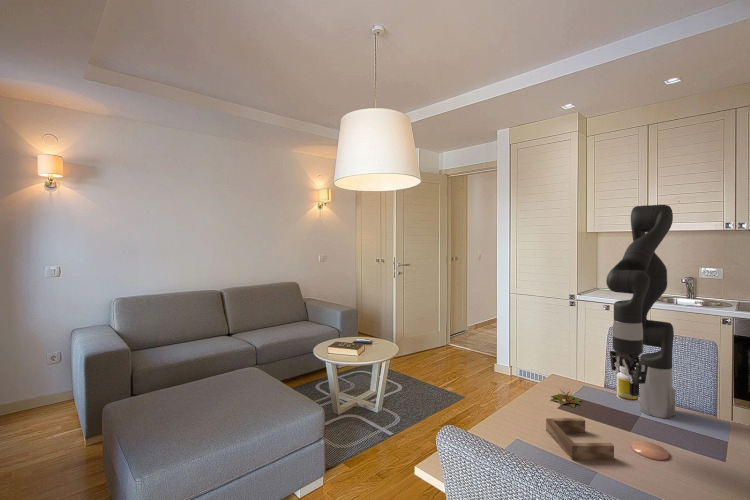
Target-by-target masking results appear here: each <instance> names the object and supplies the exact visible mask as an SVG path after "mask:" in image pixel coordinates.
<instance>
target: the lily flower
mask: <svg viewBox="0 0 750 500" xmlns="http://www.w3.org/2000/svg"><path fill="white" fill-rule="evenodd" d="M559 390H560V393H557V394H553V395H552V397H553V398H551V399H550V401H554V400H556V402H558V403H559V405H560V406H562V405H567V406H569V407H572V408H575V406H576V404H578V405H581V406H583V404H582V403H581V401H582V399H580V398H575V397H574V396H573V394H572V393H571V390H569V389H567V392H565V391H563V390H565V388H563V389H560V388H559ZM568 390H569V391H568ZM569 393H570V394H569ZM554 402H555V401H554ZM569 403H570V404H569Z"/></svg>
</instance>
